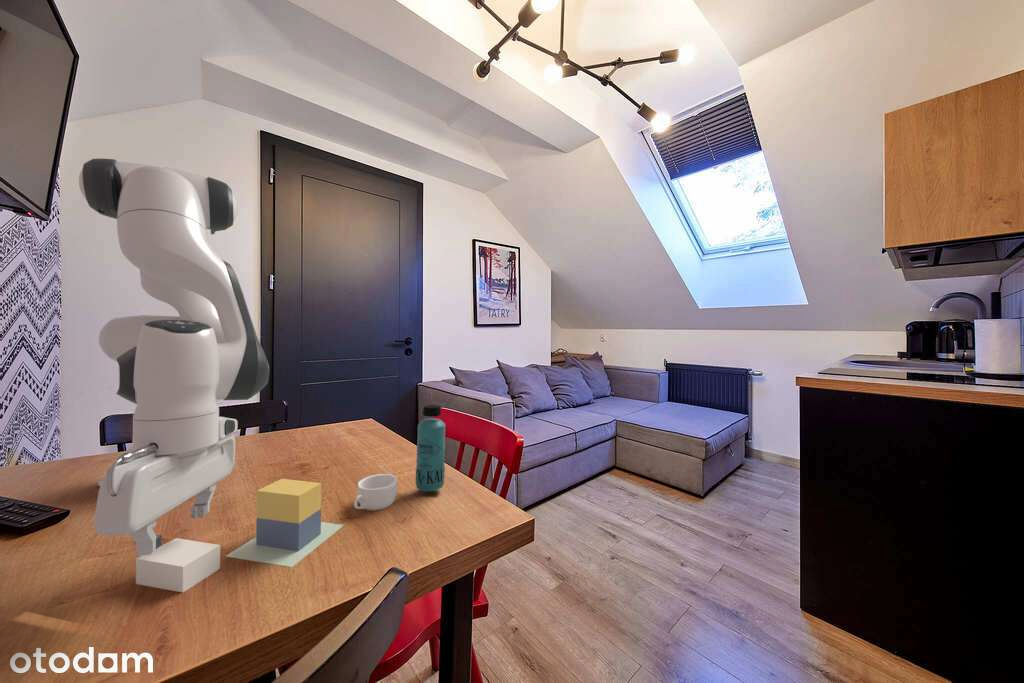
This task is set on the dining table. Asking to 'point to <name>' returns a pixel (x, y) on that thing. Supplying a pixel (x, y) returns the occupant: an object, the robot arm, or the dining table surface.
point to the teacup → (376, 492)
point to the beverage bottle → (430, 451)
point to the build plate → (282, 555)
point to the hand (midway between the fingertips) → (177, 532)
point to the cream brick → (178, 565)
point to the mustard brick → (289, 500)
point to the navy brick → (288, 532)
